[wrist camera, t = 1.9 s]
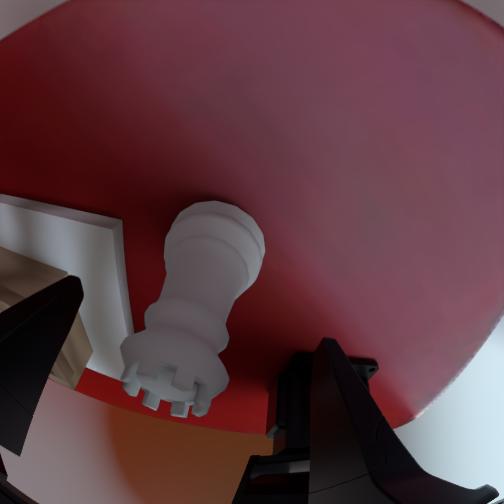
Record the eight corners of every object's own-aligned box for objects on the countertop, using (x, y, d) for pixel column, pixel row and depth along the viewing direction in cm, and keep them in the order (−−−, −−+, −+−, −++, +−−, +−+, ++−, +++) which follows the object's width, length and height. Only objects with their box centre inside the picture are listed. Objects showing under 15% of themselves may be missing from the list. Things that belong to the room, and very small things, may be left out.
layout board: (122, 219, 13) (66, 282, 9) (143, 378, 22) (127, 425, 18) (-29, 187, 12) (-71, 218, 8) (19, 324, 21) (-3, 356, 17)
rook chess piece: (169, 193, 12) (63, 327, 5) (270, 200, 12) (253, 368, 5) (176, 272, 14) (117, 409, 8) (261, 282, 14) (244, 437, 7)
